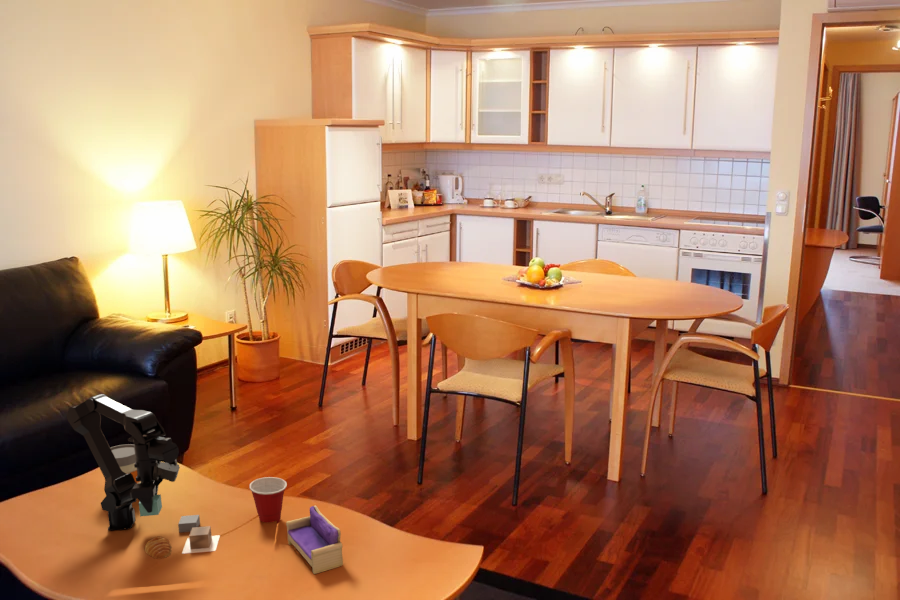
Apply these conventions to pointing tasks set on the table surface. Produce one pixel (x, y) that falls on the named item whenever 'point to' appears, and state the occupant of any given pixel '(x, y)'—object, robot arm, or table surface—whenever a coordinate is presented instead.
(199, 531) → the walnut brick
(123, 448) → the reusable coffee cup
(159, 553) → the pastry
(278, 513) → the plastic cup
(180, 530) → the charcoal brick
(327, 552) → the toy sofa
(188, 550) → the base plate
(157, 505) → the teal brick
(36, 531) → the table surface
